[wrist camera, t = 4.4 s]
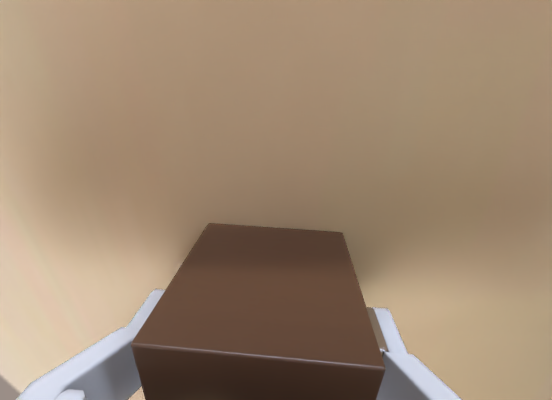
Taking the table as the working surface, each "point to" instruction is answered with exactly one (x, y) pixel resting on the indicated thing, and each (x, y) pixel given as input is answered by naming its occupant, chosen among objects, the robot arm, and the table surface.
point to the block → (261, 322)
